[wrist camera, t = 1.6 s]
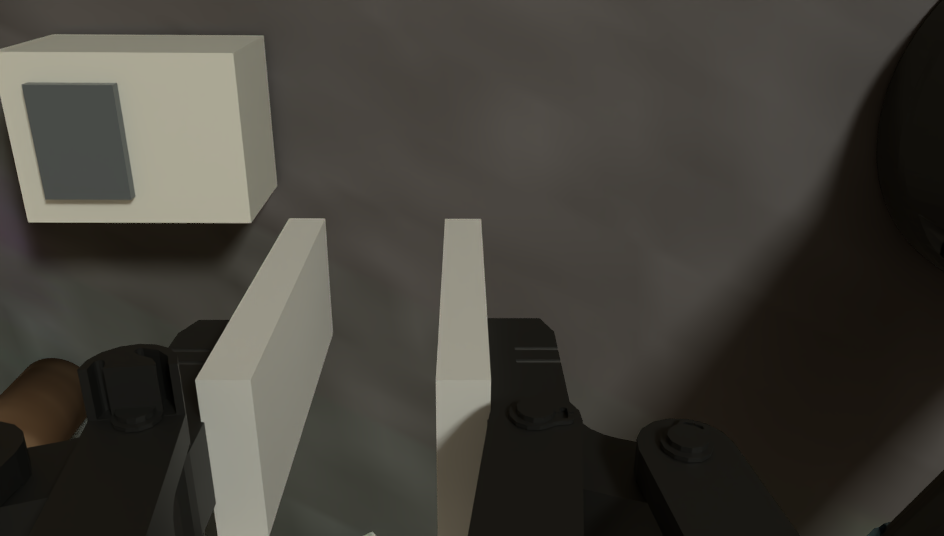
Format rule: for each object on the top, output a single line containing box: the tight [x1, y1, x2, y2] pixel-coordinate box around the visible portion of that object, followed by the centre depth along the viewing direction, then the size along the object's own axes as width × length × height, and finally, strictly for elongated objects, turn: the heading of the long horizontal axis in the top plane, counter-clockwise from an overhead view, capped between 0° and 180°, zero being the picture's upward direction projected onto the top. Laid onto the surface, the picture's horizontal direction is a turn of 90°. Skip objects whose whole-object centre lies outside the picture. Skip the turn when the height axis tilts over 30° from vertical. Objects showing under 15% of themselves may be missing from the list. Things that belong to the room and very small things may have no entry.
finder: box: [0, 34, 277, 223], centre depth 30 cm, size 8×6×5 cm
